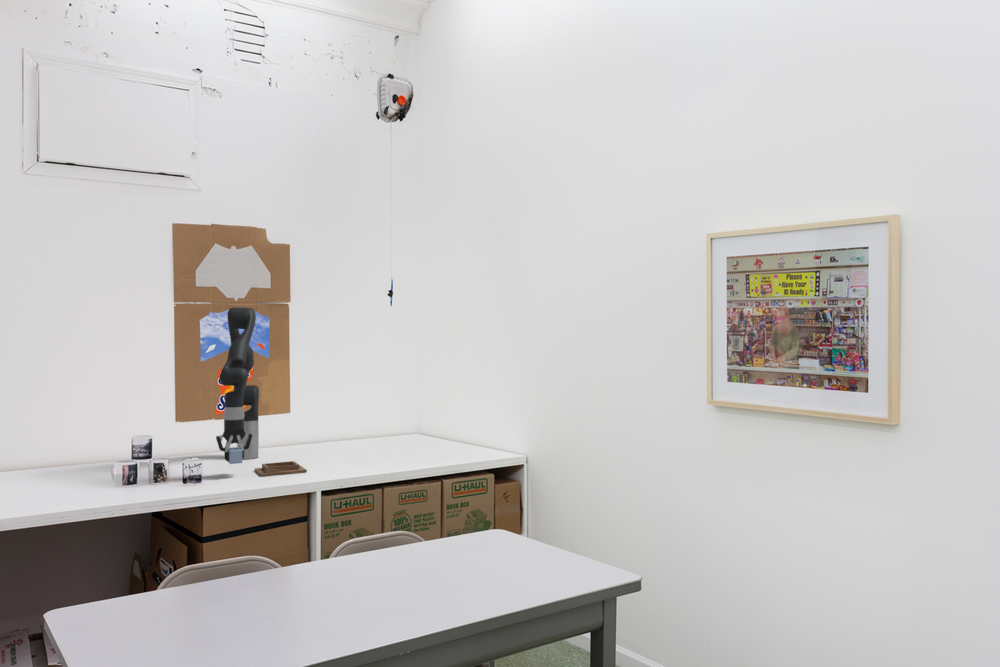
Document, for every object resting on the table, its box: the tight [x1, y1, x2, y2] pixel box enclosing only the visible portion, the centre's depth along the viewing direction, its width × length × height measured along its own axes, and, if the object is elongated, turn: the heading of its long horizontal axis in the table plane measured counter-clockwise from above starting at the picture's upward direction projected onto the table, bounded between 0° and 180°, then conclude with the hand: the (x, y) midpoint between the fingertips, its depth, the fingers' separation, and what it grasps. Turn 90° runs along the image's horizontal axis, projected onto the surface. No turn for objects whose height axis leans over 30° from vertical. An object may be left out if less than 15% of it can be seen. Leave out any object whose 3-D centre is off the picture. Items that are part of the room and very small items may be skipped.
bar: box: [227, 446, 243, 465], centre depth 281 cm, size 9×4×5 cm, turn 30°
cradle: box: [254, 460, 307, 478], centre depth 290 cm, size 14×18×3 cm
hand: (234, 460), depth 281 cm, fingers closed on bar, 4 cm apart
